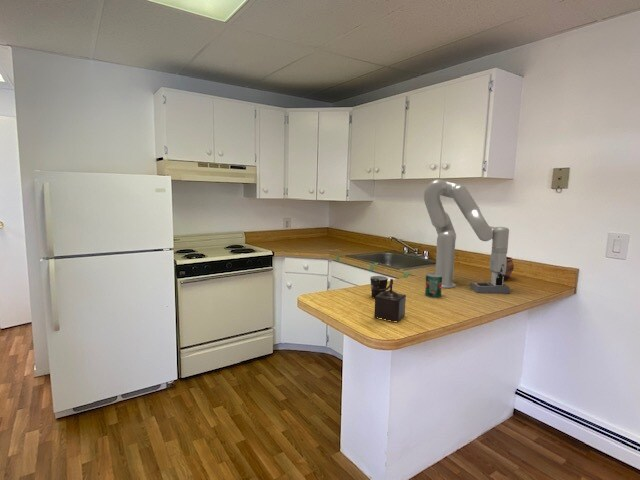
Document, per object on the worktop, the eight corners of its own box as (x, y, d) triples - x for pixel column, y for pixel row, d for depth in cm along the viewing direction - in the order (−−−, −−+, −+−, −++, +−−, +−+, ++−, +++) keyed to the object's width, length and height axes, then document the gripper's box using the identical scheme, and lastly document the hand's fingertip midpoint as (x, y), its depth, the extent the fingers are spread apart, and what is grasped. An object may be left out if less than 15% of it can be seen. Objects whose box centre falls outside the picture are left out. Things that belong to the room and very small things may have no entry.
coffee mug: (385, 300, 175) (386, 280, 174) (367, 298, 178) (368, 278, 177) (389, 294, 186) (390, 275, 184) (372, 292, 189) (373, 273, 187)
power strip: (476, 293, 190) (477, 285, 190) (465, 284, 206) (465, 278, 206) (509, 293, 190) (510, 286, 189) (495, 285, 206) (495, 278, 205)
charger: (494, 286, 192) (495, 272, 191) (490, 283, 196) (491, 271, 195) (502, 286, 192) (503, 273, 191) (498, 284, 196) (499, 271, 195)
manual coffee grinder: (381, 310, 161) (382, 271, 158) (405, 315, 155) (407, 274, 152) (367, 321, 147) (368, 278, 145) (393, 327, 142) (395, 282, 139)
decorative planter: (513, 284, 208) (515, 261, 206) (490, 282, 213) (491, 259, 212) (511, 277, 226) (513, 255, 224) (490, 275, 231) (491, 253, 229)
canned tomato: (443, 297, 181) (445, 276, 180) (429, 298, 180) (430, 276, 178) (436, 293, 189) (437, 272, 187) (422, 293, 188) (423, 273, 186)
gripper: (485, 247, 200) (483, 279, 202) (499, 253, 183) (496, 287, 186) (499, 247, 200) (496, 280, 202) (514, 253, 183) (511, 288, 185)
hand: (496, 283), depth 194 cm, fingers closed on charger, 4 cm apart
